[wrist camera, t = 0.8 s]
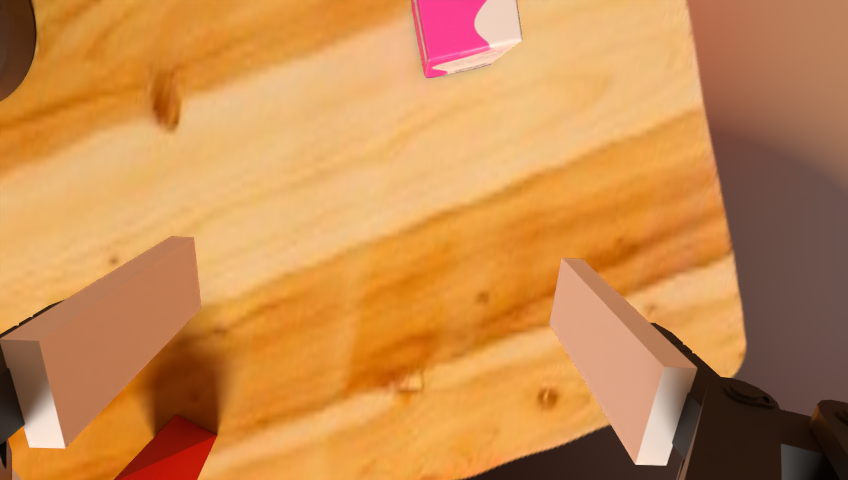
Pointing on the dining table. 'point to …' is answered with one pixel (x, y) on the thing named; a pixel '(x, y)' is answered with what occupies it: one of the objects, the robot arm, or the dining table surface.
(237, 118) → the dining table surface
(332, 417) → the dining table surface
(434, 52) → the supplement box
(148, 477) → the french fries
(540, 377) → the dining table surface
